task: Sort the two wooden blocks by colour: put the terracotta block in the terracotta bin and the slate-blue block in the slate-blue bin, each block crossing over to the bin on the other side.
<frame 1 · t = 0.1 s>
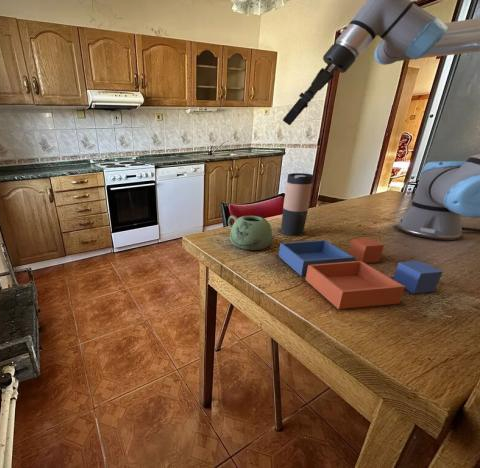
hand: (286, 122, 80), 36 cm above the table, tool tilted 35°, fingers open, 13 cm apart
terracotta block: (362, 258, 71), on the table
blue bin: (312, 263, 69), on the table
travel mug: (291, 232, 90), on the table
mug: (246, 243, 83), on the table
terracotta bin: (348, 290, 57), on the table
blue block: (412, 286, 58), on the table
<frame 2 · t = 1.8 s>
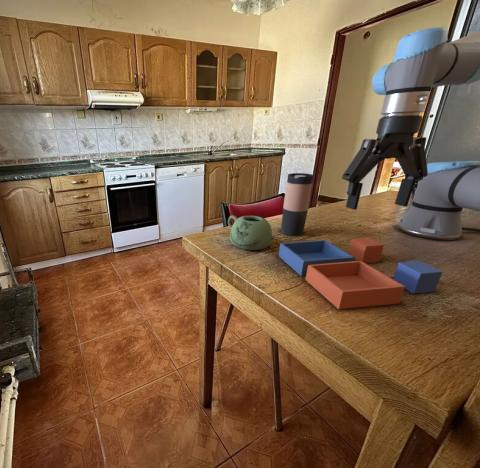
hand: (376, 206, 65), 15 cm above the table, tool pointing down, fingers open, 13 cm apart
nothing on the table moved.
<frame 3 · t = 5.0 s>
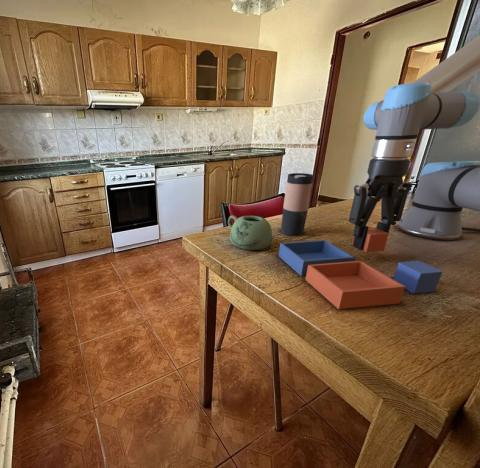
hand: (367, 246, 69), 3 cm above the table, tool pointing down, fingers closed on terracotta block, 5 cm apart
terracotta block: (367, 247, 69), point 3 cm above the table, touching gripper
everything else where it was.
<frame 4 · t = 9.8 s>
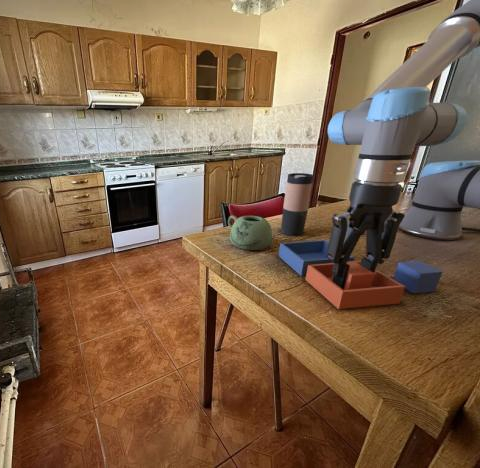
hand: (349, 287, 57), 1 cm above the table, tool pointing down, fingers closed on terracotta block, 5 cm apart
terracotta block: (348, 288, 57), point 1 cm above the table, touching gripper
everything else where it was.
when the fingers open (4 cm above the table, at t = 21.0 s): terracotta block drops 3 cm, resting on terracotta bin.
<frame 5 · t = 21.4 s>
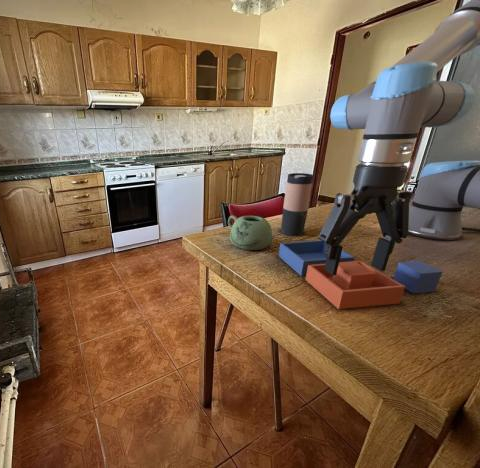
hand: (353, 269, 55), 5 cm above the table, tool pointing down, fingers open, 10 cm apart
terracotta block: (349, 288, 57), point 1 cm above the table, touching terracotta bin
everything else where it was.
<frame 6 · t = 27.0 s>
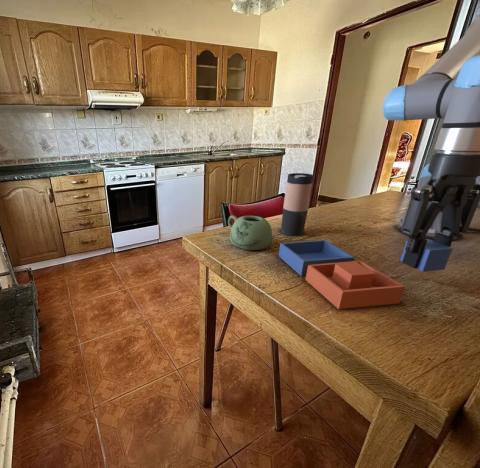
hand: (421, 263, 56), 6 cm above the table, tool pointing down, fingers closed on blue block, 5 cm apart
blue block: (421, 265, 56), point 5 cm above the table, touching gripper
everything else where it was.
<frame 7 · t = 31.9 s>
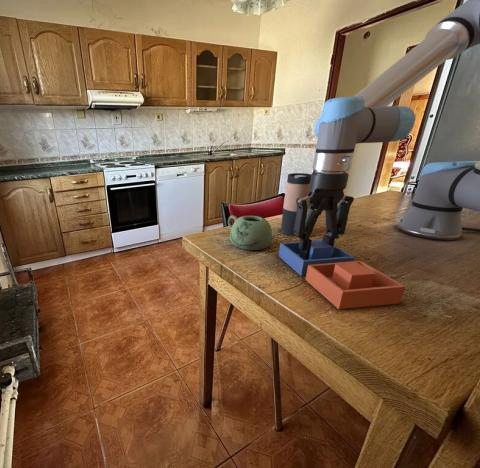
hand: (313, 259, 69), 1 cm above the table, tool pointing down, fingers closed on blue block, 5 cm apart
blue block: (313, 260, 69), point 1 cm above the table, touching gripper
everything else where it was.
when the fingers open (4 cm above the table, at t = 42.9 s): blue block drops 3 cm, resting on blue bin.
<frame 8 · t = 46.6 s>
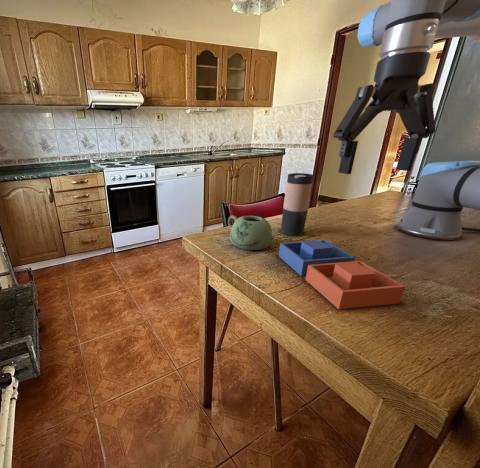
hand: (373, 171, 55), 25 cm above the table, tool pointing down, fingers open, 13 cm apart
blue block: (313, 261, 69), point 1 cm above the table, touching blue bin
everything else where it was.
at the end: terracotta block inside the target area in the terracotta bin (0.0 cm from its centre), point 0.6 cm above the terracotta bin's base; blue block inside the target area in the blue bin (0.1 cm from its centre), point 0.6 cm above the blue bin's base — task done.
